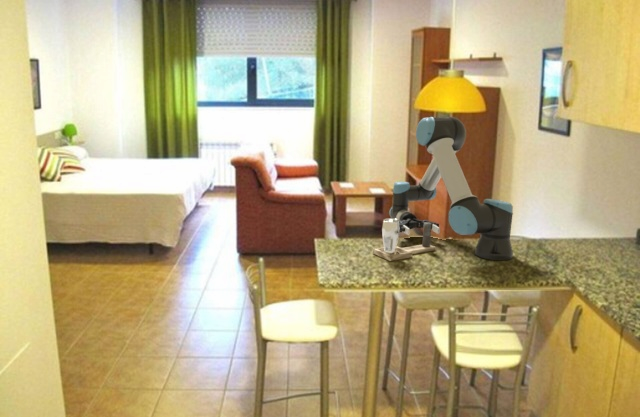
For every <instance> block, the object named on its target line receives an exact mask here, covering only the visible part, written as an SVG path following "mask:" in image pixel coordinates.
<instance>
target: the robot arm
mask: <svg viewBox="0 0 640 417" xmlns="http://www.w3.org/2000/svg"><path fill="white" fill-rule="evenodd" d="M466 136H467V130H466V126H465V125H464V123H463V122H462V121H461V120H460V119H459V118H458V117H454V116H448V117H447V116H446V117H445V116H442V117H439V116H438V117H434V116H430V117H423V118H422V119H420V121H419V122H418V124H417V127H416V131H415V138H416V142H417V144H419V146H420V145H421V146H423V147H424V146H425V148H426V150H427V151H426V152H428V153H429V154H430V155H432V156H433V158H432V159H431V162H430V163H429V164H428V167H427V169H426V170H425V173H424V175H423V176H422V178H421V180H420V181H419V183H418V184H416V185H410V182H408V181H396V182H394V184H393V189H392V205H391V207H390V209H389V212H388V214H389V216H390V218H392V219H398V220H400V233H404V234H405V235H407V236H410V230H412V229H414V228H415V229H416V228H417V229H423V227H424V222H429V223H431V232H433V233H436V234H437V235H440V233H441V228H440V223H438V222H434V221H431V220H427V219H422V220H421V219H418V217H417V216H416V215H415V214H413V213H412V212H411V211H409V205H410V204H409V203H410V202H421V201H429V200H433V199H435V198H436V196H437V188H436V187H437V185H438V183H439V182H440V180H441V179H442V181H443V184H444V186H445V189H446V191H447V194H448V195H449V198H450V200H451V204H450V206H449V208H450V210H449V211H448V223H449V225H450V228H451V229H452V230H453V231H454V232H455V233H456V234H457V235H460V236H461V235H462V236H464V235H465V236H466V235H467V236H472V235H475V234H480V237H479V239H478V240H477V244H476V246H475V248H474V255H475V256H477V257H479V258H482V259H485V260H490V261H508V260H512V259H513V256H514V250H513V248H512V243H511V230H512V223H513V215H514V212H513V211H514V210H513V208H514V206H513V205H512V203H510V202H508V201H504V200H500V199H495V198H494V199H493V198H485V199H483V203H481V202H480V200H479V197H478V196H476V195H474V194H472V191H471V188H470V187H469V186H470V185H469V184H468V181H467V179H466V177H465V175H464V174H465V173H464V172H463V169H462V166H461V165H460V162H459V160H458V157H457V155H456V153H457V152H459V151H460V150H461V149H462V147H463V146H464V144H465V142H466Z"/></svg>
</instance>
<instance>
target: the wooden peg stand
mask: <svg viewBox="0 0 640 417" xmlns="http://www.w3.org/2000/svg"><path fill="white" fill-rule="evenodd" d="M422 229H423V230H422V244H417V245H411V246H406V247H400V246H398V245H397V254H393V255H390V254H387V253H385V252H383V248H384V246H381V247H377V248H376V247H375V248H372V254H373V255H376V256H378V257H380V258H382V259H385V260H387V261H389V262H391V261H398V260H403V259H408V258H412V257H413V254H421V253H425V252H426V253H427V252H432V251H436V246H434V245H432V244H431V239H432V238H431V236H432V229H431V223H429V222H424V227H423V228H422Z"/></svg>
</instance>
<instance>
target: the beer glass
mask: <svg viewBox="0 0 640 417" xmlns="http://www.w3.org/2000/svg"><path fill="white" fill-rule="evenodd" d="M381 232H382V233H381V234H382V244H383V247H384V248H383V252H385V253H387V254H390V255H393V254H398V252H397V246H398V242H399V237H400V234H401V232H400V220H398V219H392V218H391V217H390V218H384V219H382V228H381Z"/></svg>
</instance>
